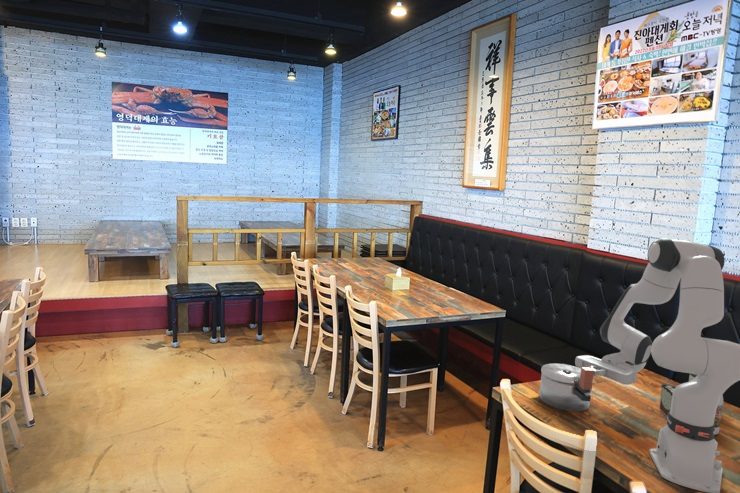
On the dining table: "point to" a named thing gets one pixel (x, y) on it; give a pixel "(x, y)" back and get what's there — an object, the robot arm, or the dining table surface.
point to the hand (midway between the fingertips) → (591, 372)
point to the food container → (666, 397)
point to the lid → (570, 375)
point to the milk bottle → (718, 415)
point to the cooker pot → (563, 395)
